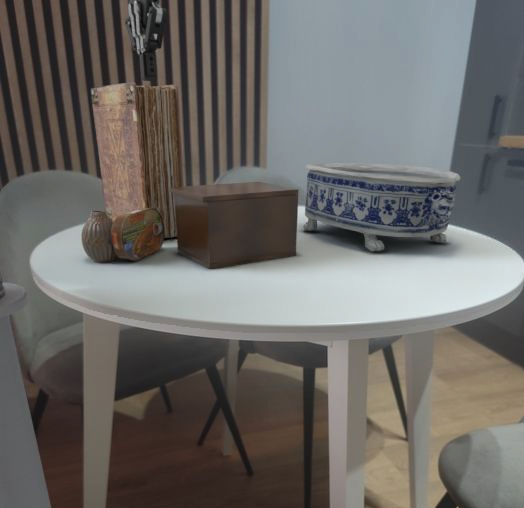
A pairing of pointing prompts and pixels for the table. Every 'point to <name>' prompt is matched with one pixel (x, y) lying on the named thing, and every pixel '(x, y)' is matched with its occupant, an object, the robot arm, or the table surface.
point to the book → (139, 148)
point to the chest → (236, 229)
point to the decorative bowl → (381, 200)
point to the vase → (98, 237)
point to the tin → (138, 234)
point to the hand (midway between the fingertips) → (149, 80)
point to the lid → (232, 191)
